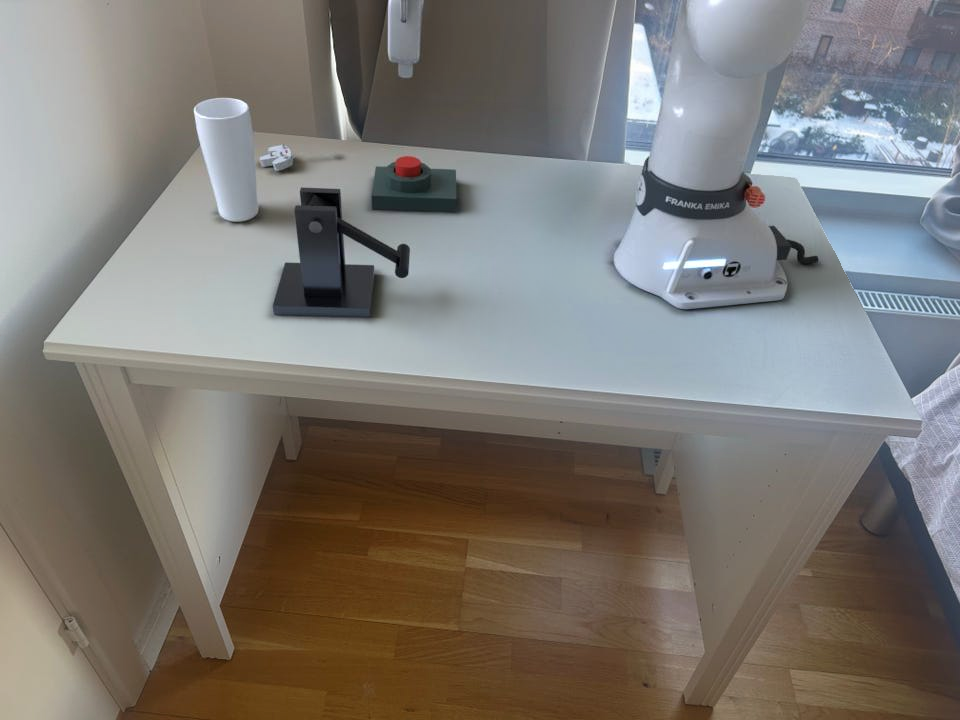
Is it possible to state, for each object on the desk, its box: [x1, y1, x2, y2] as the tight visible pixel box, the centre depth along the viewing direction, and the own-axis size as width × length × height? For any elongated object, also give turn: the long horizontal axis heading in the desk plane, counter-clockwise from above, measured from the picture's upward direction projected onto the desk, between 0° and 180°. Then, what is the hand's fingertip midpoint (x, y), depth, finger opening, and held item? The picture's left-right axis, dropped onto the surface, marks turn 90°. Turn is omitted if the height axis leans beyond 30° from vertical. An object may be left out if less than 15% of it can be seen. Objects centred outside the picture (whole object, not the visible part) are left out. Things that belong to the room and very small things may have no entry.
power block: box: [370, 161, 458, 213], centre depth 108 cm, size 12×9×4 cm
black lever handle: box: [307, 195, 411, 279], centre depth 85 cm, size 13×5×2 cm
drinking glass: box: [193, 97, 260, 223], centre depth 98 cm, size 7×7×15 cm
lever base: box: [272, 186, 375, 318], centre depth 86 cm, size 11×9×13 cm
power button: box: [395, 155, 422, 177], centre depth 106 cm, size 4×4×2 cm
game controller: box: [259, 143, 338, 172], centre depth 115 cm, size 6×12×3 cm, turn 129°
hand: (405, 73), depth 97 cm, fingers closed
